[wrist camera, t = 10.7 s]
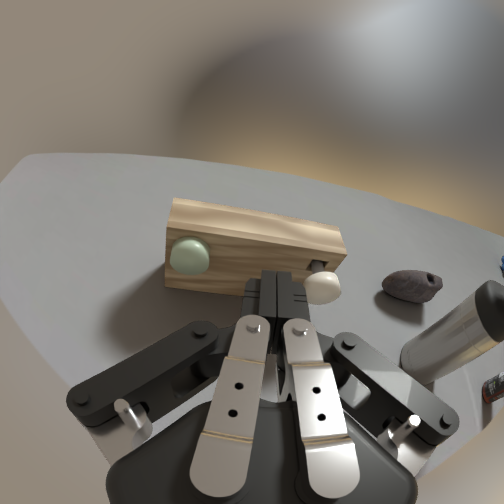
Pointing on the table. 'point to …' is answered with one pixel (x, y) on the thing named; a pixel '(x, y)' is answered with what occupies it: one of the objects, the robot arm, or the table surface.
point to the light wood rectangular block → (248, 245)
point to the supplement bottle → (494, 388)
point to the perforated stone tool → (412, 285)
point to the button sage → (190, 256)
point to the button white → (321, 285)
